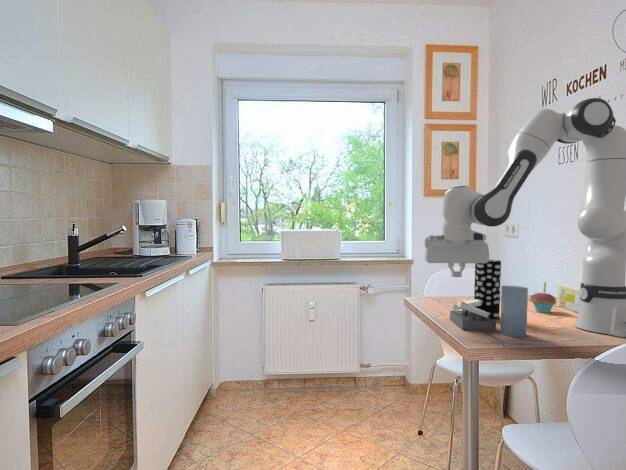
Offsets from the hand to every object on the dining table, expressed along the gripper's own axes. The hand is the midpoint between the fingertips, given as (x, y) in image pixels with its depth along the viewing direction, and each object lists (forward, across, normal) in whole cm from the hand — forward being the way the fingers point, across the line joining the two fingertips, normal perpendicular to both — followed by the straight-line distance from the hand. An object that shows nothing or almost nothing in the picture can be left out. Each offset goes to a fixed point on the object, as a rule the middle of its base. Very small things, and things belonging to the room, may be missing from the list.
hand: (456, 276), depth 136 cm
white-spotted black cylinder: (+15, +13, +9) cm, 22 cm away
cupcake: (+16, +38, +21) cm, 46 cm away
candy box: (+16, +51, +25) cm, 59 cm away
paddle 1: (+9, +3, 0) cm, 10 cm away
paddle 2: (+9, +3, -7) cm, 12 cm away
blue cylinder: (+15, +13, -13) cm, 24 cm away
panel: (+15, +4, -3) cm, 16 cm away
